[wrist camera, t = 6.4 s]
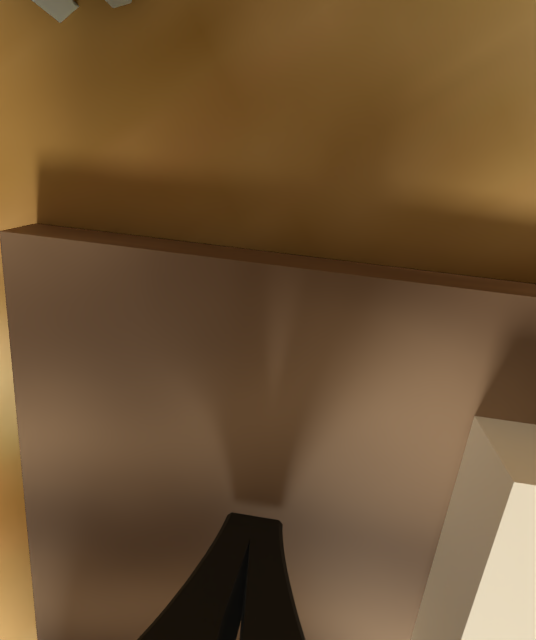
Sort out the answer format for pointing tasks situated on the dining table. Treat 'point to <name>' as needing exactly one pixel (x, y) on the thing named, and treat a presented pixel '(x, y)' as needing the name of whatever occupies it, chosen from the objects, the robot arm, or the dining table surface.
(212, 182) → the dining table surface
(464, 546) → the cream rectangular block
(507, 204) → the dining table surface
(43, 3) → the metal bracket
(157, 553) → the bench board
